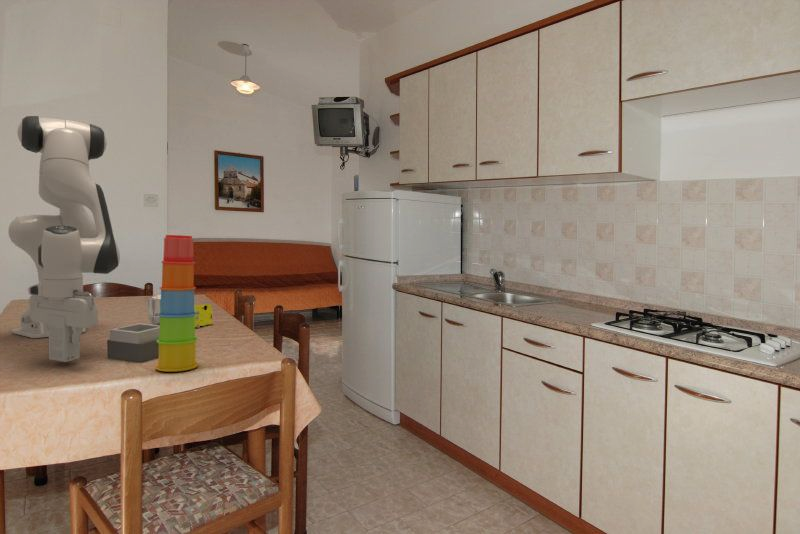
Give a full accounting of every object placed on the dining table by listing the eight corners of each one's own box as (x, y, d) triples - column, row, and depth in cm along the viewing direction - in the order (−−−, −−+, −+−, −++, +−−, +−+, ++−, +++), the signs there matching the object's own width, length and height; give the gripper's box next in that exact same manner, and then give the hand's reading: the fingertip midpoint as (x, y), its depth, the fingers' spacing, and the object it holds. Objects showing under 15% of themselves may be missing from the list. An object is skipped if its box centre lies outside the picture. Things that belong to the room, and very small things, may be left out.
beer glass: (163, 348, 151) (162, 299, 149) (142, 347, 152) (141, 297, 151) (177, 343, 157) (177, 296, 156) (158, 342, 159) (157, 294, 158)
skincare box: (80, 358, 133) (80, 313, 132) (65, 362, 129) (64, 316, 128) (63, 355, 135) (63, 311, 134) (48, 359, 131) (47, 314, 130)
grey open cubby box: (107, 360, 139) (106, 329, 139) (137, 352, 149) (136, 323, 148) (141, 365, 136) (140, 333, 135) (169, 356, 145) (169, 326, 144)
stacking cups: (148, 367, 131) (146, 234, 128) (187, 360, 139) (186, 234, 136) (166, 376, 124) (164, 235, 122) (205, 367, 132) (204, 235, 129)
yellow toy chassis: (178, 333, 173) (177, 309, 172) (166, 331, 175) (165, 307, 175) (213, 325, 187) (213, 303, 187) (202, 324, 190) (201, 302, 189)
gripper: (103, 290, 130) (104, 343, 132) (47, 284, 137) (48, 334, 138) (81, 293, 124) (82, 348, 126) (23, 287, 131) (25, 339, 132)
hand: (64, 341), depth 132 cm, fingers closed on skincare box, 6 cm apart
